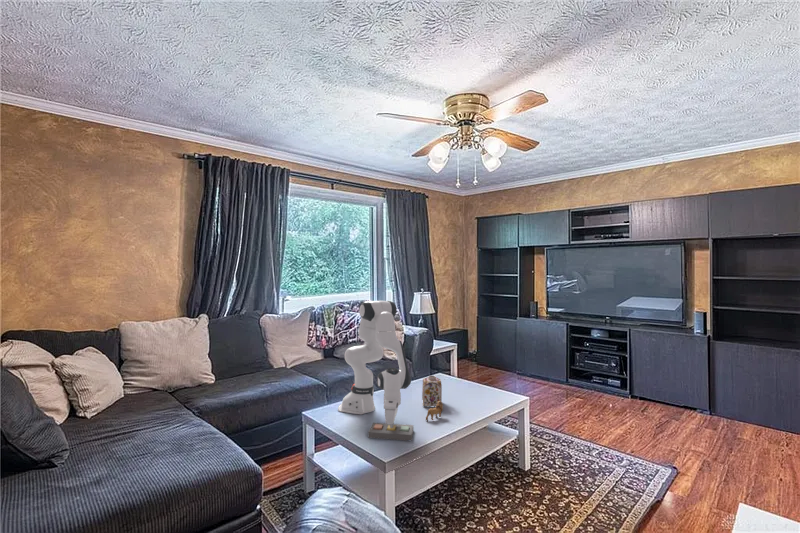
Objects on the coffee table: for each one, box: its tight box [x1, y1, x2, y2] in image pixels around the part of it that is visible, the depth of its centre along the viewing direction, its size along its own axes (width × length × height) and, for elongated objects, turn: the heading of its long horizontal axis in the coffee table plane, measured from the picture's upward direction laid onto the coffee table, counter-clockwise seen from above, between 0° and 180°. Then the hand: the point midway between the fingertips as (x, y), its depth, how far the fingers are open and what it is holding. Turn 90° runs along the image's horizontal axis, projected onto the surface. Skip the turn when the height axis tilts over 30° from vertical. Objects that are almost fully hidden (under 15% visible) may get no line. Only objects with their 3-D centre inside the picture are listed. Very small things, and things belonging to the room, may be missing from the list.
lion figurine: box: [425, 401, 444, 423], centre depth 225 cm, size 15×5×9 cm, turn 141°
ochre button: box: [387, 425, 396, 431], centre depth 204 cm, size 4×4×4 cm
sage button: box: [401, 426, 409, 432], centre depth 203 cm, size 4×4×4 cm
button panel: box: [367, 422, 414, 441], centre depth 204 cm, size 22×12×3 cm, turn 83°
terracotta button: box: [374, 424, 383, 430], centre depth 205 cm, size 4×4×4 cm
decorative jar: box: [421, 375, 443, 407], centre depth 249 cm, size 12×12×18 cm
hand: (391, 426), depth 204 cm, fingers closed, pressing on ochre button
